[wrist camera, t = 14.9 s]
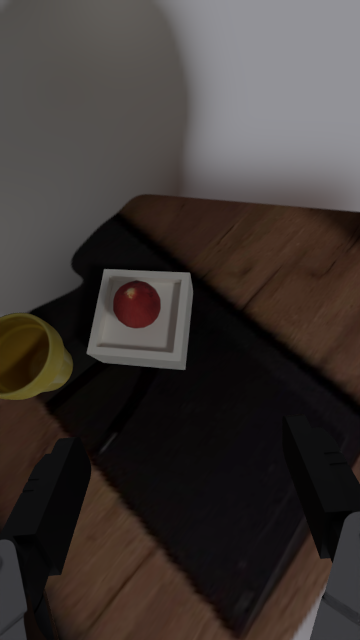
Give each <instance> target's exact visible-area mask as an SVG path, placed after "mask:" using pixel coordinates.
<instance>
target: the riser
mask: <svg viewBox="0 0 360 640" xmlns="http://www.w3.org/2000/svg"><path fill="white" fill-rule="evenodd" d="M135 280H138V281H143V282H146V283H148V284H150V285H151V286H152V287H154V288H155V289H156V291H157V293H158V295H159V297H160V300H161V310H160V313H159V315H158V318H157V319H156V320H155V321H154V322H153V323H152V324H151V325H149V326H147V327H145V328H136V329H135V328H130V327H127V326H125V325H124V324H123V323H121V322H120V321H119V320H118V319H117V317H116V315H115V313H114V311H113V299H114V296H115V293H116V292H117V290H118V289H119V288H120V287H121V286H122V285H124V284H126V283H128V282H132V281H135ZM192 297H193V289H192V283H191V277H190V273H181V272H159V271H136V270H114V269H104V272H103V277H102V282H101V287H100V292H99V297H98V301H97V306H96V311H95V316H94V321H93V326H92V330H91V335H90V340H89V345H88V350H87V354H88V355H90V356H92V357H94V358H96V359H98V360H100V361H101V362H103V363H113V364H124V365H135V366H147V367H158V368H169V369H180V370H185V366H186V356H187V346H188V336H189V326H190V317H191V307H192Z"/></svg>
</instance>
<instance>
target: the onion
mask: <svg viewBox="0 0 360 640" xmlns="http://www.w3.org/2000/svg"><path fill="white" fill-rule="evenodd" d="M160 310H161V300H160V297H159V295H158V293H157V291H156V289H155V288H154V287H152V286H151V285H150V284H148V283H146V282H143V281H138V280H135V281H132V282H128V283H126V284H124V285H122V286H121V287H120V288H119V289H118V290H117V292H116V293H115V296H114V299H113V311H114V313H115V315H116V317H117V319H118V320H119V321H120V322H121V323H123V324H124V325H125V326H127V327H130V328H135V329H136V328H145V327H147V326H149V325H151V324H152V323H153V322H154V321H155V320H156V319H157V318H158V315H159V313H160Z"/></svg>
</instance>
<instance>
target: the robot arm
mask: <svg viewBox="0 0 360 640" xmlns="http://www.w3.org/2000/svg"><path fill="white" fill-rule="evenodd" d="M283 452H284V456H285V460H286V463H287V466H288V469H289V471H290V474H291V477H292V480H293V483H294V486H295V488H296V491H297V494H298V497H299V500H300V503H301V505H302V508H303V511H304V514H305V517H306V519H307V522H308V525H309V528H310V531H311V534H312V536H313V539H314V542H315V545H316V548H317V551H318V553H319V556H320V559H324V558H331V561H332V563H333V564H332V568H331V572H330V575H329V579H328V583H327V586H326V590H325V593H324V595H323V596H322V599H321V602H320V605H319V609H318V612H317V616H316V619H315V623H314V626H313V630H312V634H311V637H310V640H360V484H359V482H358V480H357V478H356V477H355V475H354V473H353V471H352V470H351V468H350V466H349V465H348V464H347V461H346V459H345V457H344V455H343V454H342V453H341V450H340V448H339V447H338V445H337V443H336V441H335V440H334V438H333V437H332V436H331V435H330V434H329V433H327V432H326V431H325V430H324V429H323V428H322V427H319V428H311V427H310V425H309V423H308V421H307V419H306V417H305V415H304V414H299V415H290V416H283ZM90 477H91V463H90V460H89V458H88V455H87V453H86V451H85V448H84V446H83V443H82V441H81V439H80V438H79V437H71V438H61V439H59V440H58V441H57V442H56V444H55V446H54V448H53V450H52V452H51V454H45V455H44V457H43V458H42V459H41V460H40V461H39V462H38V463H37V464H36V465H35V467H34V469H33V471H32V473H31V475H30V477H29V479H28V482H27V483H26V485H25V487H24V489H23V493H21V495H20V497H19V499H18V500H17V502H16V504H15V506H14V508H13V510H12V512H11V514H10V516H9V518H8V520H7V522H6V524H5V526H4V528H3V530H2V532H1V534H0V640H59V639H58V636H57V632H56V628H55V624H54V620H53V616H52V613H51V609H50V605H49V601H48V597H47V593H46V590H45V585H46V582H47V579H48V576H53V575H61V573H62V569H63V566H64V563H65V560H66V556H67V553H68V550H69V547H70V543H71V540H72V537H73V533H74V530H75V527H76V524H77V520H78V517H79V514H80V510H81V507H82V504H83V501H84V497H85V494H86V491H87V487H88V484H89V481H90Z"/></svg>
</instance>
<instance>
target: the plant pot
mask: <svg viewBox="0 0 360 640" xmlns="http://www.w3.org/2000/svg"><path fill="white" fill-rule="evenodd" d="M72 369H73V361H72V357H71V355H70V353H69V352H68V351H67V350H66V348H65V347H64V346H63V342H62V339H61V337H60V335H59V334H58V332H57V331H56V330H55V329H54V328H53V327H52V326H50V325H49V324H48V323H46V322H45V321H43V320H42V319H40V318H38V317H37V316H34V315H32V314H28V313H13V314H9V315H5V316H3V317H0V398H2V399H12V400H20V399H26V398H30V397H33V396H35V395H37V394H39V393H40V392H46V391H52V390H55V389H58V388H60V387H61V386H62V385H64V384H65V383H66V381H67V380H68V379H69V377H70V375H71V373H72Z"/></svg>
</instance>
